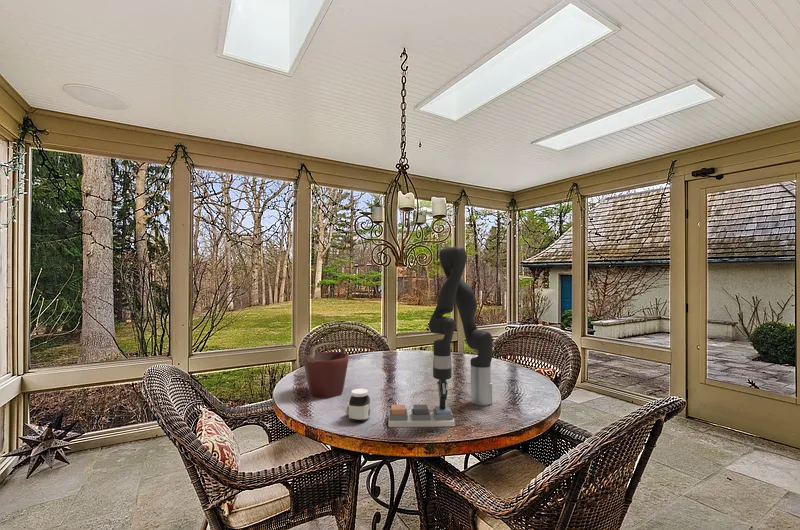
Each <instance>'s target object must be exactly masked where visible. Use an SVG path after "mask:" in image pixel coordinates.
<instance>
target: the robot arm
mask: <svg viewBox="0 0 800 530" xmlns="http://www.w3.org/2000/svg"><path fill="white" fill-rule="evenodd" d="M467 255H468V254H467V250H466V248H464V247H463V246H461V245H459V246H450V247H446V248H442V249H441V250H440V251H439V254H438V257H439V262H440V265H441V267H442V270H443V272H444V274H445V277H446V281H445V282H444V283H443V285H442V286H441V288H440V289H439V292H438V293H439V294H438V297H437V303H436V306H435V308H434V311H433V313H432V315H431V317H430V318H429V322H428V329H429V331H430V332H431V334H437V335H444V336H443V338H441V339H436V340H434V341H433V356H432V377H433V379H436V380H438V381H436V386H437V393H438V399H439V406H440V409H445V406H446V401H447V396H448V387H449V385H448V382H447V380H450V379H452V375H453V374H452V372H453V371H452V349H451V348H452V347H451V346H452V339H453V336H454V333H455V328H456V323H455V320H454V319H453V318H452V317H449V316H444V315H446V314H450V313H453V311H454V309H455V308H454V307H455V306H456V307H457V311H458V314H459V317H460V321H461V324H462V328H463V332H464V338H465V340H466V341H465V342H466V345H467V346H468V347H469V349H471V350H474V351H478V353H477V356H475V357H474V356H473V357H472V358H471V359H470V403H471V404H472V405H476V406H489V405H493V383H492V372H491V371H492V368H491V367H492V366H491V365H492V360H493V347H494V346H493V344H494V342H493V341H494V340H493V335H492V334H491V333H490V332H489V331H485V330H478V328H477V325H476V322H475V320H476V319H475V317H476V313H477V310H478V301H477V299H476V295H475V293H474V290H473V289H472V287H471V286H470V285H469V284H468V282H466V281H465V280H463V278H462V276H463V273H464V271H465V267H466V264H467V258H468V256H467Z"/></svg>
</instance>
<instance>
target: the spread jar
mask: <svg viewBox="0 0 800 530" xmlns="http://www.w3.org/2000/svg"><path fill="white" fill-rule="evenodd" d="M350 393H351V396H350V398H349V401H347V403H346V404H345V406H344V410H343V411H344V414H346V415H347V416H348V418H349V420H350V421H351V422H354V423H364V422H367V421H368V420H369V419H370V415H371V397H370V396H369V391H368V389H366V388H354V389H352V390H351V391H350Z"/></svg>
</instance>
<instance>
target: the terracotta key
mask: <svg viewBox="0 0 800 530" xmlns="http://www.w3.org/2000/svg"><path fill="white" fill-rule="evenodd" d="M391 409H392V415H406V409H407V408H406V404H391Z"/></svg>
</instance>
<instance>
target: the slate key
mask: <svg viewBox="0 0 800 530" xmlns="http://www.w3.org/2000/svg"><path fill="white" fill-rule="evenodd" d="M434 409H435V413H436V415H444V414H451V411H452V410H451V411H450V409H451V408H450V407H449V405H445V409H440V405H435V406H434Z"/></svg>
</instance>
